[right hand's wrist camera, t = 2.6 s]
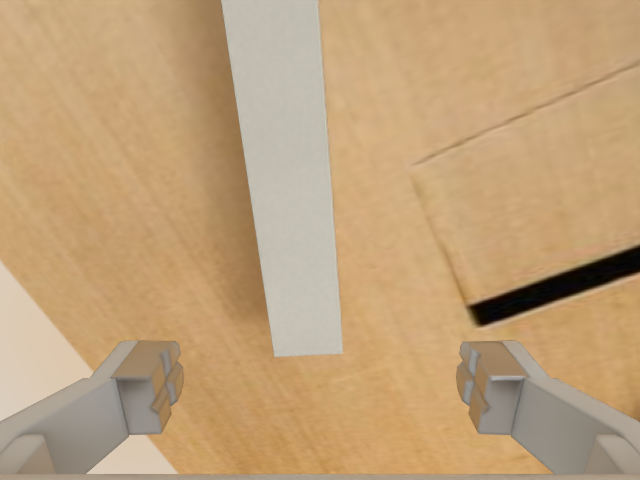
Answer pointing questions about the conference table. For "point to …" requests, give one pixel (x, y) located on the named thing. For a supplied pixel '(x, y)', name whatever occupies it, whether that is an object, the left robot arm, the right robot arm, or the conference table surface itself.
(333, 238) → the beam
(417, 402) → the conference table surface
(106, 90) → the conference table surface
